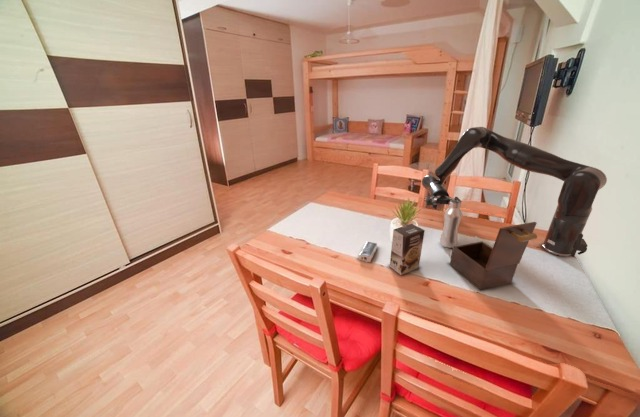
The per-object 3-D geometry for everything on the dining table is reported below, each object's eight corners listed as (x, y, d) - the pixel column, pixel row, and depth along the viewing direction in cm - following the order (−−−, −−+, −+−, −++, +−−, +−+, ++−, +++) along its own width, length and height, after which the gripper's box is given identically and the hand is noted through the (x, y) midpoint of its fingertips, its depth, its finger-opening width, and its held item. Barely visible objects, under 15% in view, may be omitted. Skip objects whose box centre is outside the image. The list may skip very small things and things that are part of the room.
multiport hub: (377, 248, 110) (377, 243, 109) (369, 262, 101) (370, 257, 100) (366, 245, 112) (367, 241, 111) (359, 259, 103) (359, 254, 102)
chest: (449, 264, 98) (453, 246, 95) (477, 258, 101) (482, 241, 98) (480, 290, 86) (485, 270, 82) (511, 282, 88) (517, 263, 85)
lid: (499, 227, 75) (514, 236, 71) (534, 221, 78) (550, 229, 74) (484, 269, 82) (497, 279, 78) (517, 262, 85) (530, 271, 81)
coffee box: (401, 275, 93) (405, 237, 87) (389, 266, 99) (392, 228, 92) (419, 267, 97) (425, 230, 90) (407, 259, 102) (411, 222, 96)
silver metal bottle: (458, 250, 106) (467, 205, 98) (440, 249, 108) (448, 204, 99) (454, 242, 112) (463, 199, 104) (437, 241, 113) (444, 198, 105)
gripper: (424, 186, 128) (430, 199, 114) (455, 187, 125) (466, 200, 111) (422, 200, 131) (428, 214, 117) (452, 201, 128) (462, 216, 114)
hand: (446, 207), depth 114 cm, fingers open, 8 cm apart
